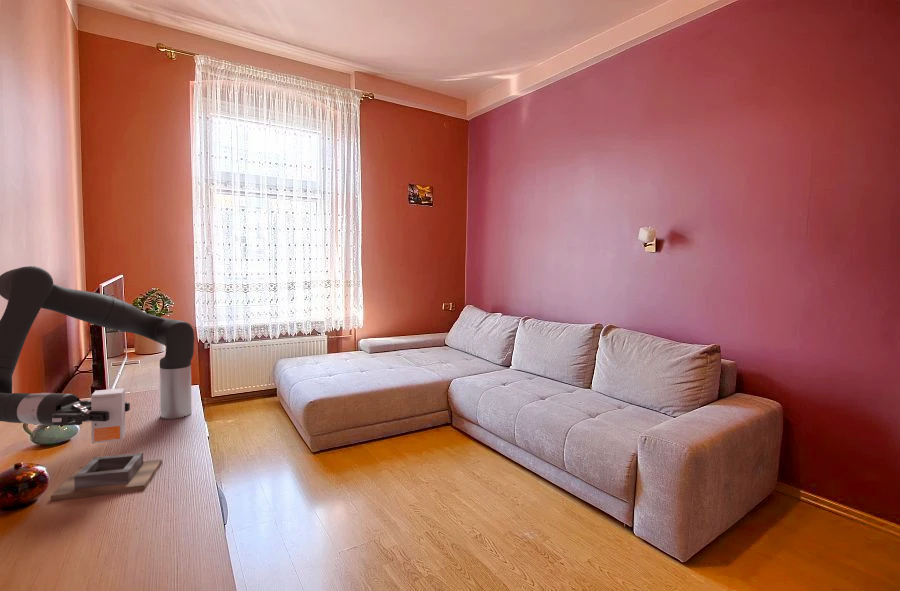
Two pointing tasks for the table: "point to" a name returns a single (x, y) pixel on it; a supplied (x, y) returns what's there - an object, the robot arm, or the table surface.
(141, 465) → the socket stand
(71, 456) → the table surface
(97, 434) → the skincare box
